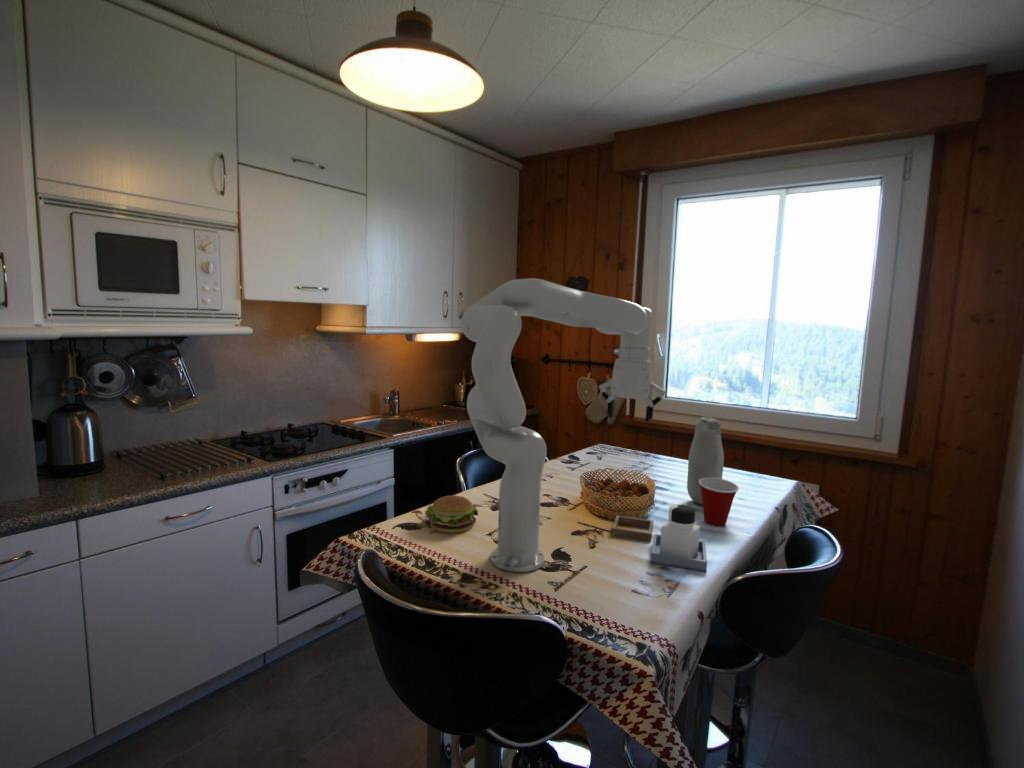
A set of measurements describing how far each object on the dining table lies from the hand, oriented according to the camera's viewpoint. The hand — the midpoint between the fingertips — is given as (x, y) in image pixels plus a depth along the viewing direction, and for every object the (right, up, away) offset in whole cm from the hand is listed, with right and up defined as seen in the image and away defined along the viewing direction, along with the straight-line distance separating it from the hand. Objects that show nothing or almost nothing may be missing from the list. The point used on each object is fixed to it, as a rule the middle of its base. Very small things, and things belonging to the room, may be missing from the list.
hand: (629, 419), depth 139 cm
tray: (+10, -33, -11) cm, 36 cm away
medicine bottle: (+10, -33, -10) cm, 35 cm away
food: (-48, -30, +4) cm, 56 cm away
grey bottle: (+30, -29, +30) cm, 52 cm away
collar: (+2, -31, +4) cm, 31 cm away
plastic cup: (+28, -31, +13) cm, 44 cm away
